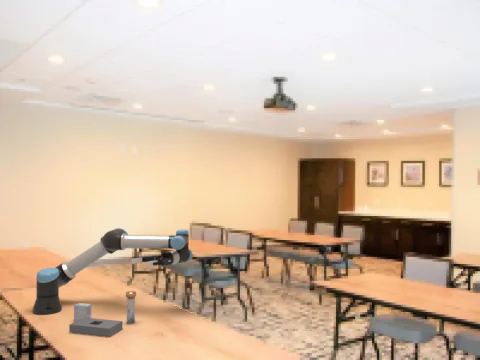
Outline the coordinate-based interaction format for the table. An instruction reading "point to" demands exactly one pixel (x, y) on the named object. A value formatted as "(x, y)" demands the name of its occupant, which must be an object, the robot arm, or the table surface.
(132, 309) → the plug
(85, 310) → the medicine box
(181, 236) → the robot arm
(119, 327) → the socket block
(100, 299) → the table surface
